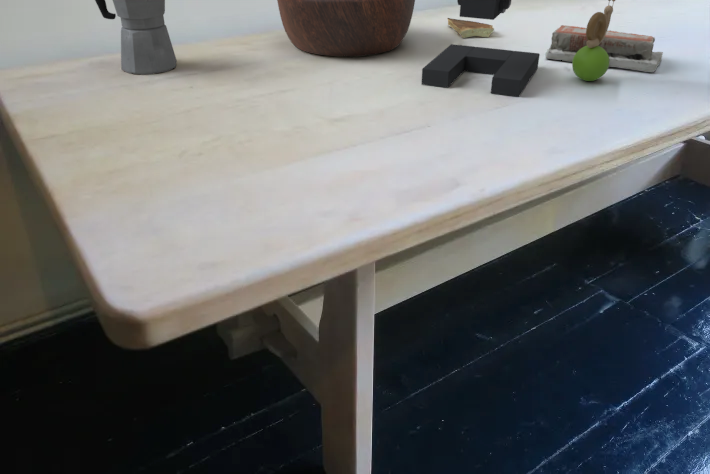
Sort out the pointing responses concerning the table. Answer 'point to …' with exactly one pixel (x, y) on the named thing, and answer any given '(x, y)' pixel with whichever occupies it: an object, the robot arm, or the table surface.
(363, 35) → the wooden bowl
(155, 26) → the coffeepot
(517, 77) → the base pad
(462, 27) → the pie slice
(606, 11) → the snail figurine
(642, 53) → the weathered brick
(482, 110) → the table surface
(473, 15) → the pad piece
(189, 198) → the table surface
